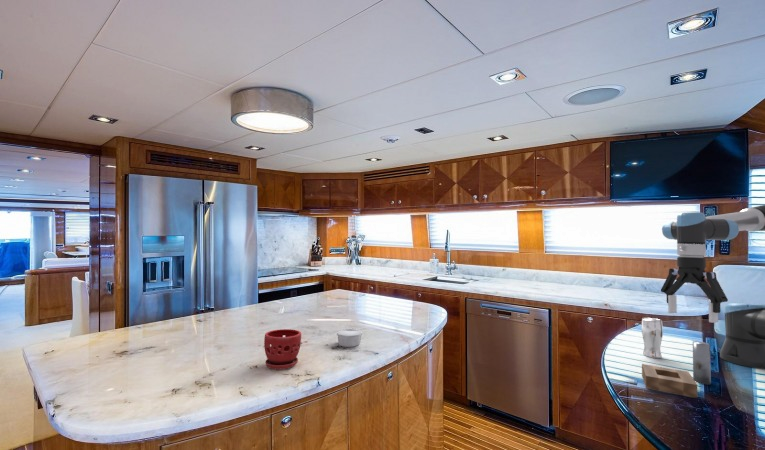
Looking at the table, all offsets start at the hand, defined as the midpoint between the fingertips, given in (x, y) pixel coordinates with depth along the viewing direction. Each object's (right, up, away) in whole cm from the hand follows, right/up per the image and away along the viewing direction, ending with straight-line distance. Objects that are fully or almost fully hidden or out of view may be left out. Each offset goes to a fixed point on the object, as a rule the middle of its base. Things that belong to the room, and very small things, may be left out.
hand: (691, 317), depth 120 cm
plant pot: (-145, -20, +7) cm, 147 cm away
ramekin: (-123, -21, +34) cm, 129 cm away
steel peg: (+1, -21, -3) cm, 21 cm away
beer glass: (+4, -22, +22) cm, 32 cm away
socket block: (-14, -21, -7) cm, 26 cm away
